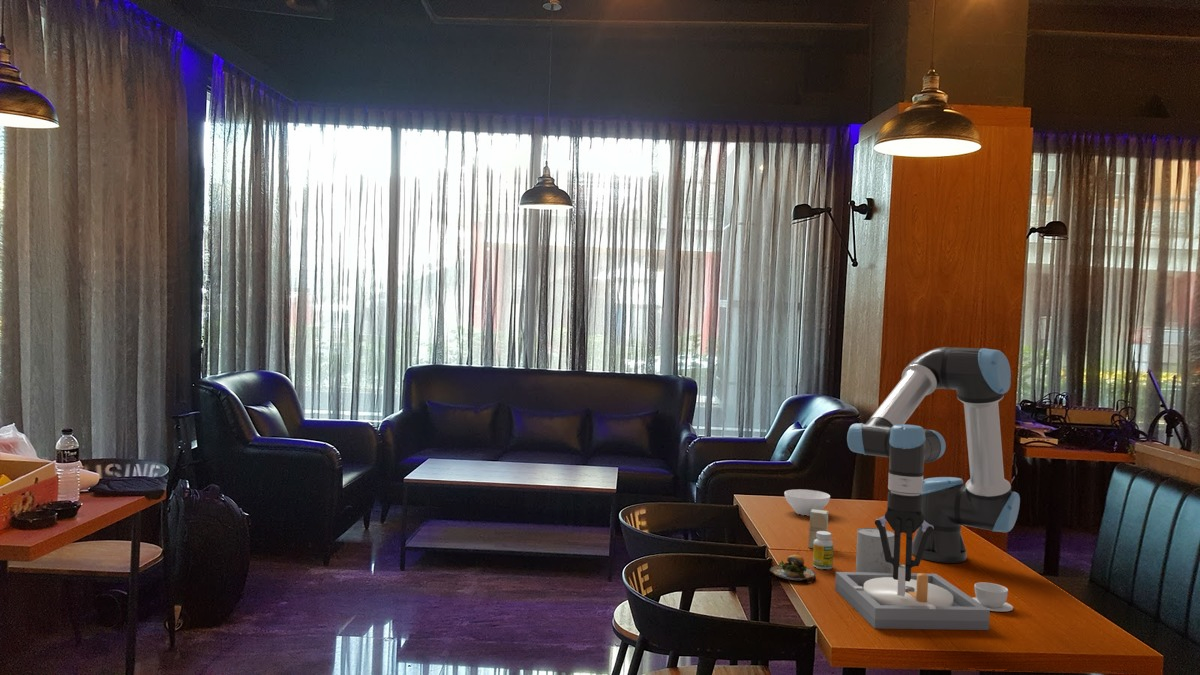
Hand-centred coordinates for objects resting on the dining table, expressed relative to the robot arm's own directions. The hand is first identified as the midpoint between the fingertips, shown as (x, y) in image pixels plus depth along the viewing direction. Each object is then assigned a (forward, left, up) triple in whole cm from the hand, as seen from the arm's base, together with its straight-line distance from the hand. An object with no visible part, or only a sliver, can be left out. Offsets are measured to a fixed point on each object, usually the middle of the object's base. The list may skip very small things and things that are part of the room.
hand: (901, 594), depth 186 cm
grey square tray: (-4, -6, -6) cm, 9 cm away
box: (+1, -58, -6) cm, 58 cm away
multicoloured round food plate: (+17, -29, -6) cm, 34 cm away
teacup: (-26, -9, -6) cm, 28 cm away
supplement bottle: (+6, -38, -6) cm, 39 cm away
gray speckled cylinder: (-5, -29, -6) cm, 30 cm away
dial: (-4, -6, -3) cm, 8 cm away
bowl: (-9, -102, -6) cm, 103 cm away
